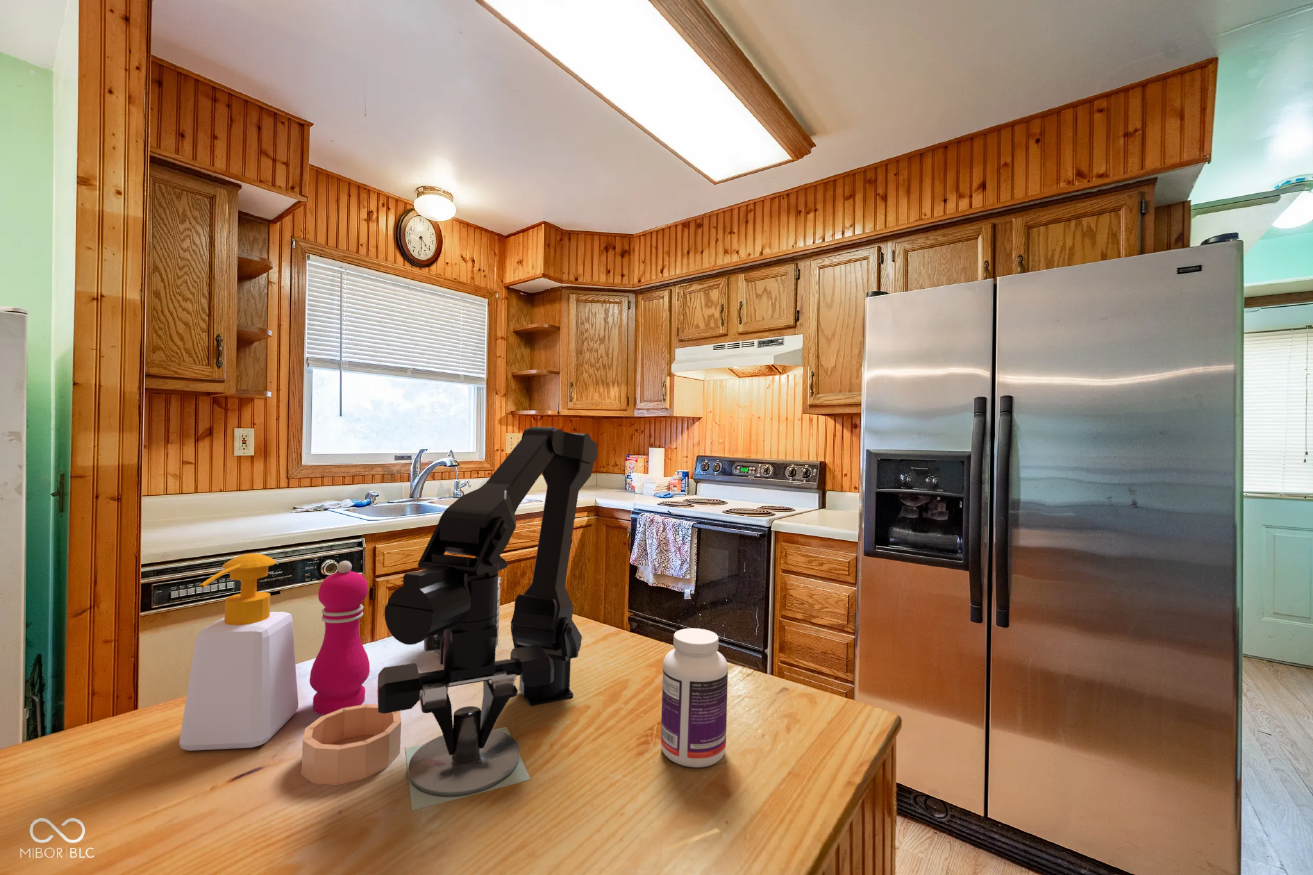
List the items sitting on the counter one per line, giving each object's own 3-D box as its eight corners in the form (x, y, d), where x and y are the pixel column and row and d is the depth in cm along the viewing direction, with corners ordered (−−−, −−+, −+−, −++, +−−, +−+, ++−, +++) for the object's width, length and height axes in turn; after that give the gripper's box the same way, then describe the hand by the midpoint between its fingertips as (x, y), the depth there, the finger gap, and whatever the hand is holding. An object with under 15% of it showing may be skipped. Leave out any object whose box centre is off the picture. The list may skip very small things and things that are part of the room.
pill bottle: (731, 742, 69) (735, 630, 70) (717, 778, 62) (722, 652, 62) (671, 729, 72) (675, 621, 72) (650, 762, 65) (655, 641, 65)
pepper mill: (341, 721, 71) (347, 568, 71) (294, 714, 72) (300, 564, 73) (380, 696, 78) (385, 557, 78) (336, 690, 80) (342, 553, 80)
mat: (506, 729, 71) (506, 726, 71) (530, 781, 60) (530, 778, 60) (405, 750, 65) (405, 748, 65) (412, 812, 54) (412, 809, 54)
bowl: (397, 729, 70) (398, 698, 70) (401, 772, 61) (402, 736, 61) (307, 747, 65) (308, 713, 65) (297, 796, 56) (299, 757, 56)
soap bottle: (142, 779, 58) (151, 571, 58) (224, 714, 72) (231, 546, 72) (241, 774, 60) (249, 571, 60) (302, 711, 73) (309, 546, 73)
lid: (506, 726, 71) (508, 682, 71) (530, 779, 60) (532, 726, 60) (405, 748, 65) (407, 699, 65) (412, 809, 54) (414, 751, 55)
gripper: (532, 588, 74) (528, 703, 74) (379, 603, 65) (374, 733, 65) (557, 612, 64) (552, 744, 64) (381, 634, 56) (375, 786, 56)
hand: (466, 749), depth 63 cm, fingers closed on lid, 3 cm apart
